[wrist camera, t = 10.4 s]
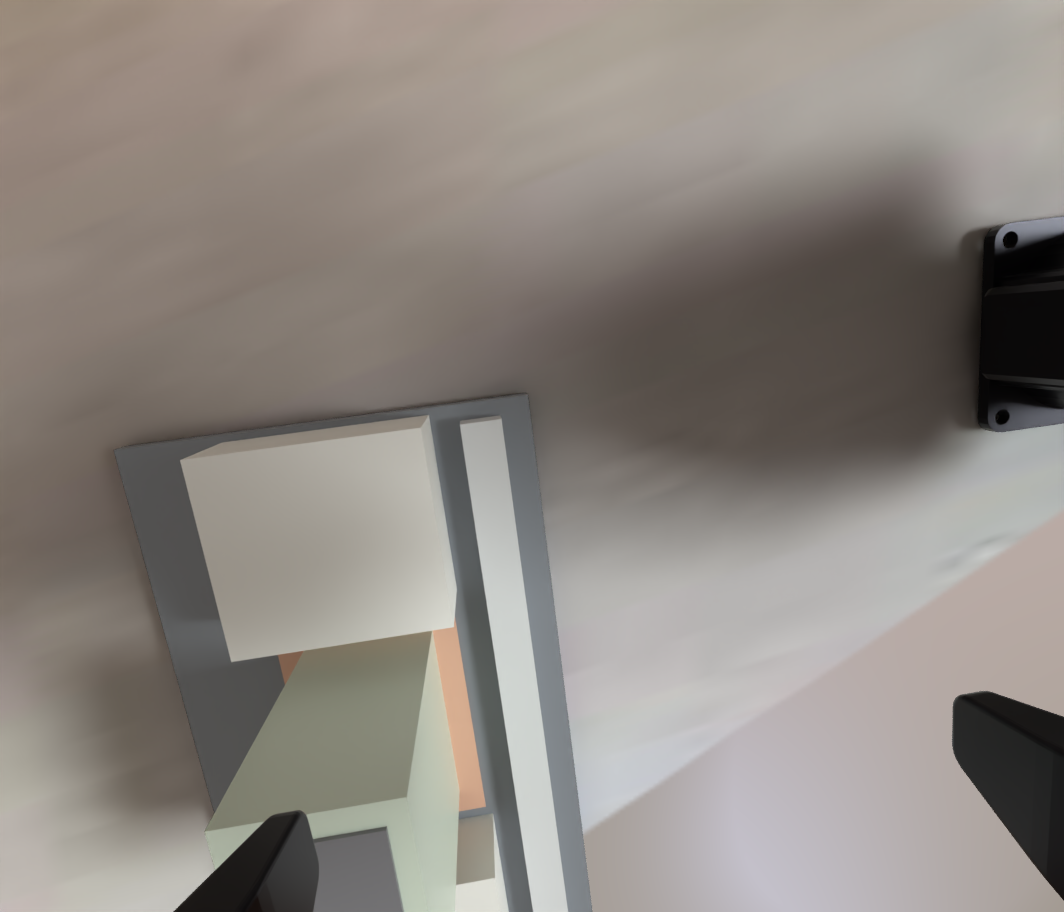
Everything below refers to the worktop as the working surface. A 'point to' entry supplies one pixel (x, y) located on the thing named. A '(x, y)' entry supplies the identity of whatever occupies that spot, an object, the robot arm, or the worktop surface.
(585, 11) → the worktop surface
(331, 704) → the block
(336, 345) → the worktop surface
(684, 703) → the worktop surface
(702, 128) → the worktop surface
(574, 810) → the rail board
